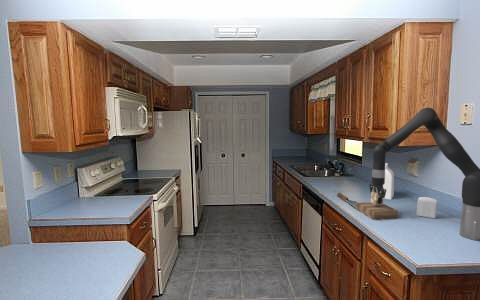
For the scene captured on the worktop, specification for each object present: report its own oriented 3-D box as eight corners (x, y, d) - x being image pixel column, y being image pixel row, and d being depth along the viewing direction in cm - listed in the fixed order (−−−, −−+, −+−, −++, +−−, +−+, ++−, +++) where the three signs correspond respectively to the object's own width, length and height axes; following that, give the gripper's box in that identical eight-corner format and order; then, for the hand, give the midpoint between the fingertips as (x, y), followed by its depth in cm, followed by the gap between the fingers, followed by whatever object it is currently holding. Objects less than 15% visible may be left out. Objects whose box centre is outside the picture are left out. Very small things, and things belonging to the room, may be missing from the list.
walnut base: (397, 218, 171) (397, 210, 170) (373, 219, 169) (373, 211, 168) (378, 208, 189) (378, 201, 188) (356, 209, 186) (357, 202, 186)
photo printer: (435, 216, 173) (437, 197, 172) (436, 219, 170) (438, 199, 168) (416, 214, 178) (417, 195, 177) (416, 216, 175) (417, 197, 173)
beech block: (382, 204, 176) (383, 193, 175) (375, 205, 175) (376, 194, 174) (377, 202, 181) (378, 191, 180) (370, 202, 180) (371, 192, 179)
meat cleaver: (372, 211, 186) (373, 205, 185) (356, 211, 185) (356, 205, 185) (350, 197, 219) (350, 192, 219) (336, 197, 218) (336, 192, 218)
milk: (390, 199, 209) (393, 165, 206) (374, 196, 216) (376, 164, 213) (393, 195, 219) (395, 163, 216) (377, 193, 226) (379, 161, 223)
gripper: (391, 178, 169) (389, 205, 171) (376, 173, 183) (375, 198, 185) (380, 179, 168) (378, 206, 170) (366, 174, 182) (364, 199, 184)
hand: (376, 202), depth 178 cm, fingers closed on beech block, 5 cm apart
